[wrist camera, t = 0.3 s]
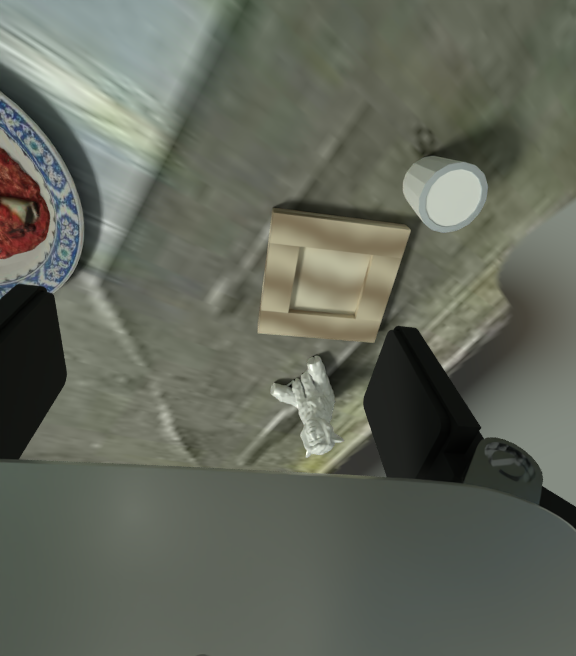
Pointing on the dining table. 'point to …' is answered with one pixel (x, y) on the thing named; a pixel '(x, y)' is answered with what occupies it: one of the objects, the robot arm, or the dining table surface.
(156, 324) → the dining table surface
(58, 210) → the ceramic plate
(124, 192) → the dining table surface
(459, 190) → the white cup
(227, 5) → the dining table surface
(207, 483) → the robot arm
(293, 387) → the sitting furry creature
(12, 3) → the dining table surface
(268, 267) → the coaster board
